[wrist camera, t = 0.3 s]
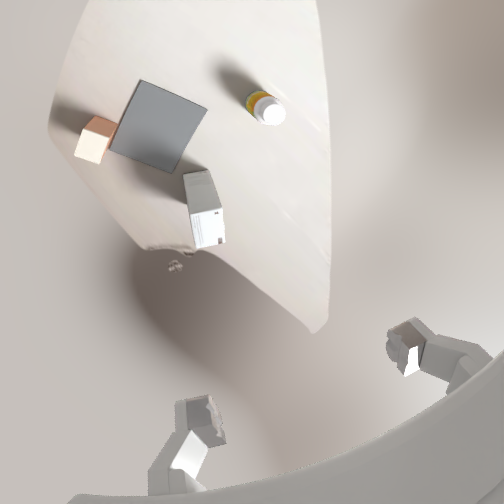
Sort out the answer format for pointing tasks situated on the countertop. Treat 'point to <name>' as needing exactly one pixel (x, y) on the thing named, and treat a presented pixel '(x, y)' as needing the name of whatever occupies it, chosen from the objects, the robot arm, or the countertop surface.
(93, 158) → the block
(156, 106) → the mat
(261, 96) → the supplement bottle
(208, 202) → the skincare box
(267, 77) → the countertop surface
